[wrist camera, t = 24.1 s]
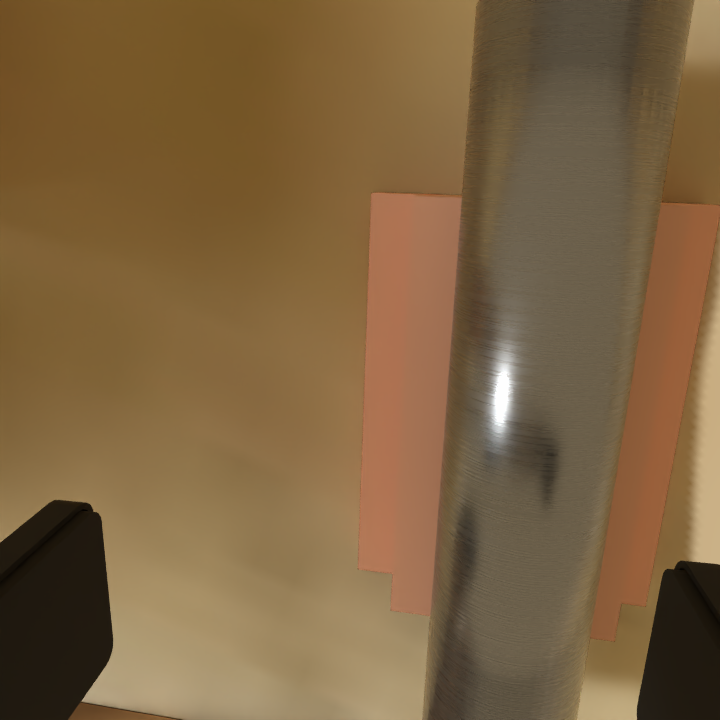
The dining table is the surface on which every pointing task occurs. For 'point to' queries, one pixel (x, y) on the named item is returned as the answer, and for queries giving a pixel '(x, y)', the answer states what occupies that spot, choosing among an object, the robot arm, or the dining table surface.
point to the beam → (109, 714)
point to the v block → (430, 382)
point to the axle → (544, 339)
